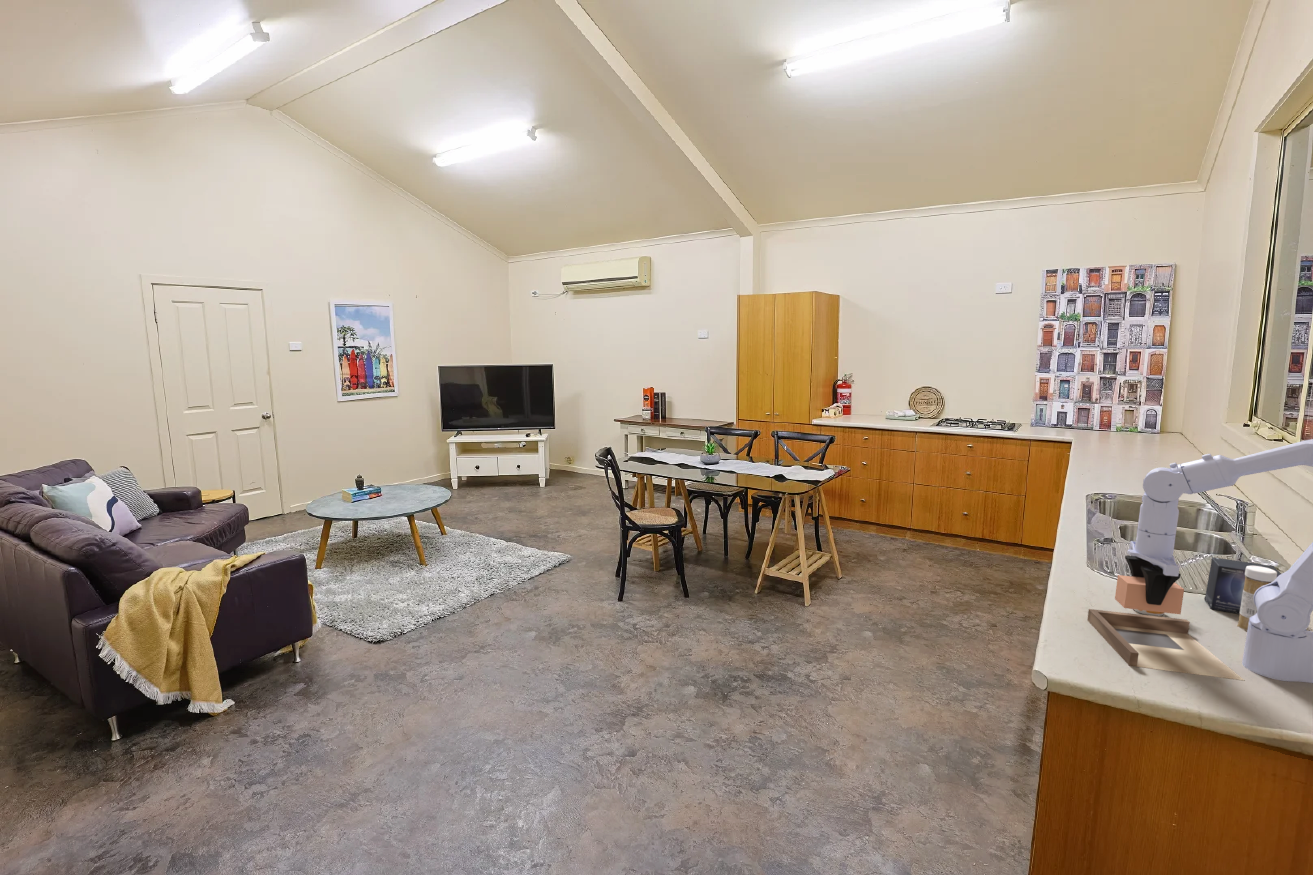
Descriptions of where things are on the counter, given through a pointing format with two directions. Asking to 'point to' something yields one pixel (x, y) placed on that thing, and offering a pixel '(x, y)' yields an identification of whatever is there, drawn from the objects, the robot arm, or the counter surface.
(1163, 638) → the tray
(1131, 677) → the counter surface
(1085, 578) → the counter surface
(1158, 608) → the terracotta bar
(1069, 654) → the counter surface
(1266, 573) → the sprinkles bottle
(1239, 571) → the small box
